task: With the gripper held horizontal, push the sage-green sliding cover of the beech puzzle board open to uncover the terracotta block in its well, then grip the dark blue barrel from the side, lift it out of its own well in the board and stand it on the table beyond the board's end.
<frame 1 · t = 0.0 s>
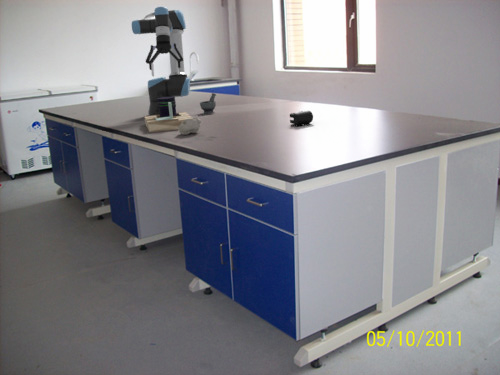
hand: (165, 74, 276), 28 cm above the table, tool tilted 20°, fingers open, 13 cm apart
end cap: (301, 125, 259), on the table
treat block: (165, 128, 276), resting in puzzle board
fossil replica: (189, 134, 257), on the table
dark blue barrel: (169, 124, 292), resting in puzzle board
puzzle board: (169, 125, 285), on the table
mortar and pestle: (209, 113, 324), on the table
cover: (163, 111, 274), point 9 cm above the table, slide at 0.0 cm
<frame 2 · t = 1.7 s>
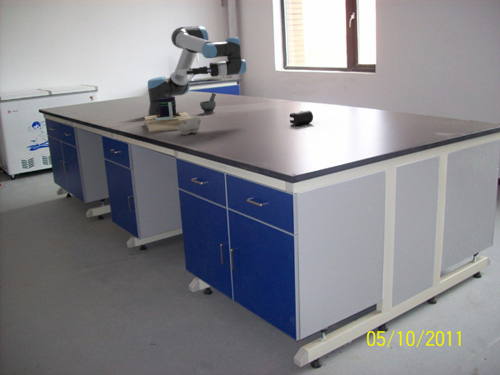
hand: (178, 72, 271), 29 cm above the table, tool horizontal, fingers open, 13 cm apart
nothing on the table moved.
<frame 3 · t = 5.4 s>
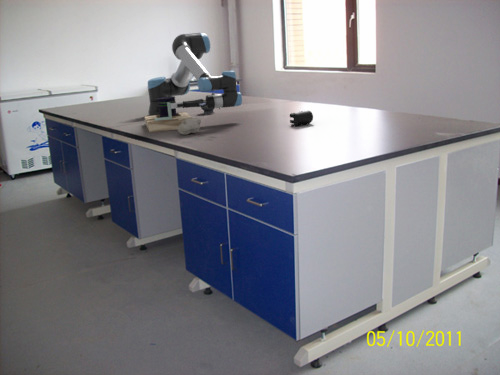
hand: (170, 106, 273), 12 cm above the table, tool horizontal, fingers closed
cover: (162, 111, 273), point 9 cm above the table, slide at 0.6 cm, touching gripper
everything else where it was.
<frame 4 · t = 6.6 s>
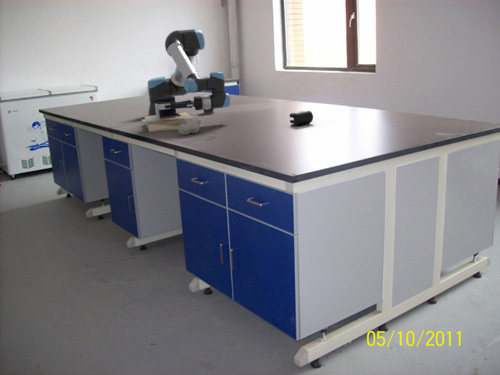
hand: (158, 107, 272), 12 cm above the table, tool horizontal, fingers closed
cover: (149, 113, 272), point 9 cm above the table, slide at 7.2 cm, touching gripper
everything else where it was.
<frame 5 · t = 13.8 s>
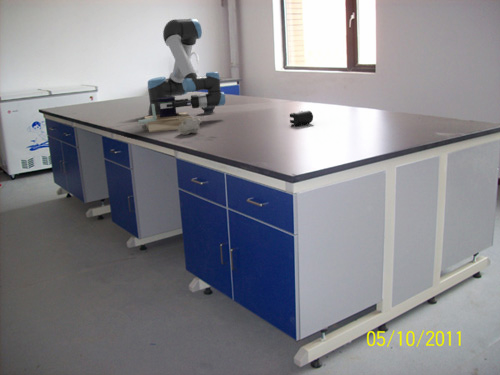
hand: (159, 105, 288), 11 cm above the table, tool horizontal, fingers closed on dark blue barrel, 10 cm apart
dark blue barrel: (169, 124, 292), resting in puzzle board, touching gripper
cover: (146, 113, 271), point 9 cm above the table, slide at 9.0 cm
everything else where it was.
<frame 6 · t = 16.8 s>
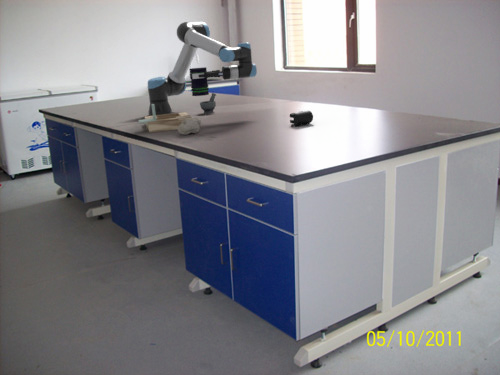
hand: (191, 76, 288), 26 cm above the table, tool horizontal, fingers closed on dark blue barrel, 10 cm apart
dark blue barrel: (200, 95, 292), point 14 cm above the table, touching gripper
everything else where it was.
when the fingers open (12 cm above the table, at t = 20.0 s): dark blue barrel drops 1 cm, on the table.
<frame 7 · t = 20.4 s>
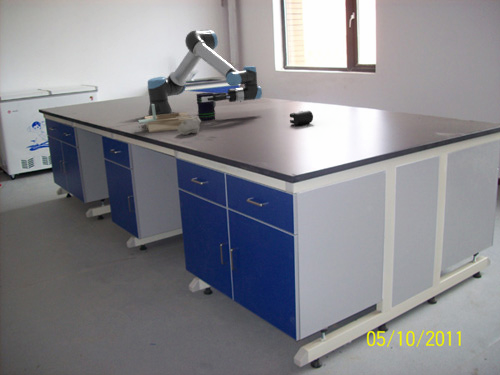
hand: (199, 98, 293), 12 cm above the table, tool horizontal, fingers open, 13 cm apart
dark blue barrel: (207, 119, 297), on the table
everything else where it was.
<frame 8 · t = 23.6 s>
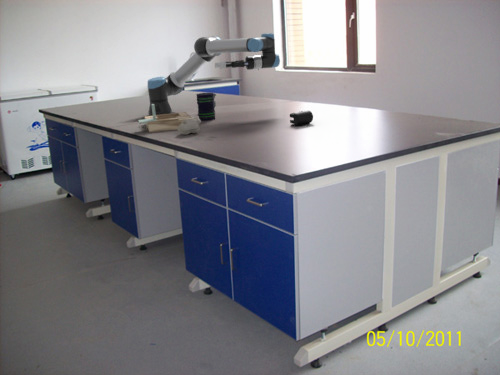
hand: (217, 65, 290), 30 cm above the table, tool horizontal, fingers open, 13 cm apart
nothing on the table moved.
at the end: cover slide at 9.0 cm; dark blue barrel inside the target area (0.4 cm from its centre), on the table; dark blue barrel tilted 0° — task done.
